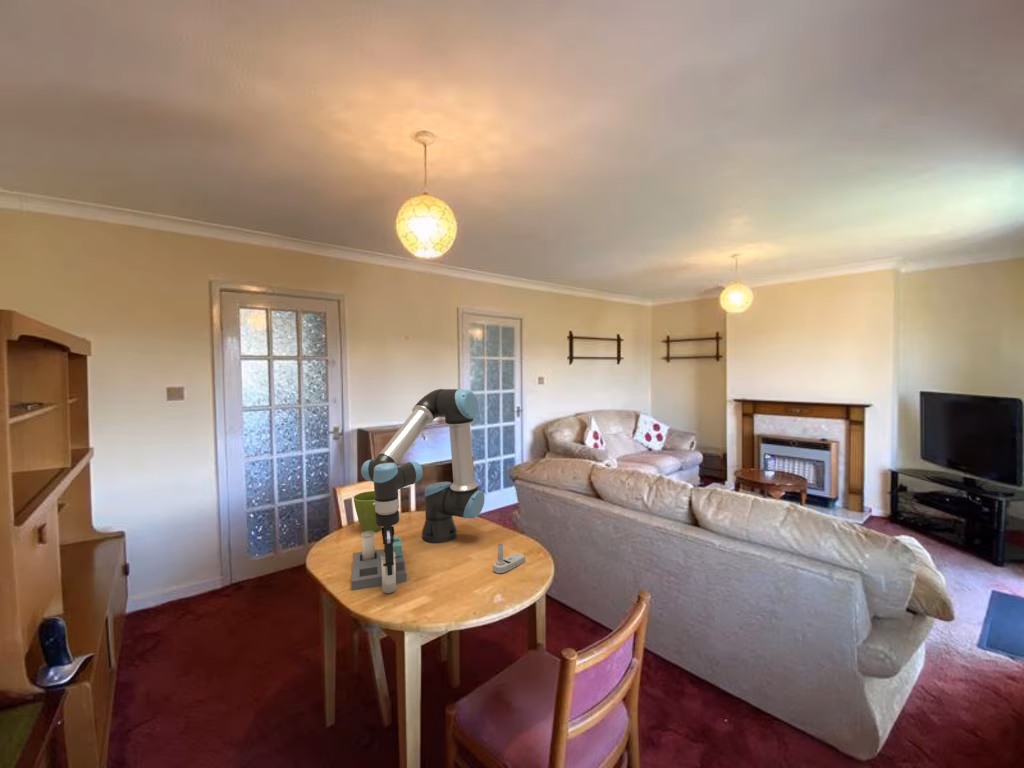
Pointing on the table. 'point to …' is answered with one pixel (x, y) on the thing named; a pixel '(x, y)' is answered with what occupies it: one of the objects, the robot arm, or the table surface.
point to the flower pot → (366, 511)
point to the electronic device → (507, 561)
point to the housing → (373, 570)
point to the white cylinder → (368, 545)
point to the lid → (397, 546)
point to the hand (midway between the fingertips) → (389, 580)
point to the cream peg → (389, 587)
